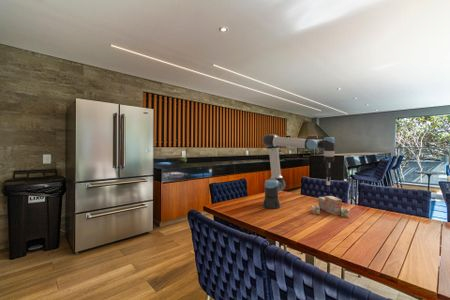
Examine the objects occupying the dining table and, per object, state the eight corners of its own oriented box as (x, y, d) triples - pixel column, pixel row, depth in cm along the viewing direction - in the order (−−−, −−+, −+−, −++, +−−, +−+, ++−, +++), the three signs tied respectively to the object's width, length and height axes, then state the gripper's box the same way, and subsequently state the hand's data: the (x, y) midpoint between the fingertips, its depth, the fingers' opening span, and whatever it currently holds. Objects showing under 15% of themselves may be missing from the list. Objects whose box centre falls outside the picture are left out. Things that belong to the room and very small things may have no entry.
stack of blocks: (318, 207, 187) (318, 193, 186) (324, 207, 188) (324, 193, 187) (334, 215, 166) (334, 199, 165) (341, 215, 167) (341, 199, 166)
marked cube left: (312, 213, 171) (312, 206, 171) (311, 211, 176) (311, 205, 176) (319, 213, 170) (319, 207, 170) (318, 211, 175) (318, 205, 175)
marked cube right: (341, 216, 164) (341, 209, 164) (341, 214, 168) (341, 207, 168) (348, 217, 162) (349, 210, 161) (348, 215, 166) (348, 208, 166)
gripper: (335, 156, 167) (334, 186, 168) (333, 155, 179) (332, 183, 180) (324, 156, 170) (323, 186, 171) (323, 155, 182) (322, 183, 183)
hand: (328, 184), depth 175 cm, fingers closed
